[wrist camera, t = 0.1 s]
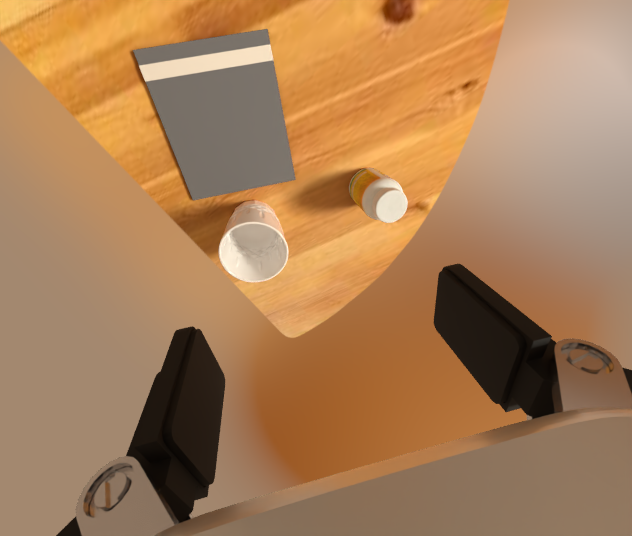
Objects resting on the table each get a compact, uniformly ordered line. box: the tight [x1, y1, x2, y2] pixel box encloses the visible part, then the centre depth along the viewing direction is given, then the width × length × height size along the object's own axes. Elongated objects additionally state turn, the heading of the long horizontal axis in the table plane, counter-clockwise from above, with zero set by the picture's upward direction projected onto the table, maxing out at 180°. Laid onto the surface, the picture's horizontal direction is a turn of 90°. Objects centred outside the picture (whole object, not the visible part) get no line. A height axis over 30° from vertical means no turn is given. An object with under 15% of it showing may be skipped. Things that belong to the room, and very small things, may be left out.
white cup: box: [219, 200, 288, 282], centre depth 36 cm, size 8×8×10 cm
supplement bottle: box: [349, 168, 408, 223], centre depth 37 cm, size 5×5×10 cm
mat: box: [133, 29, 295, 200], centre depth 33 cm, size 16×14×1 cm
